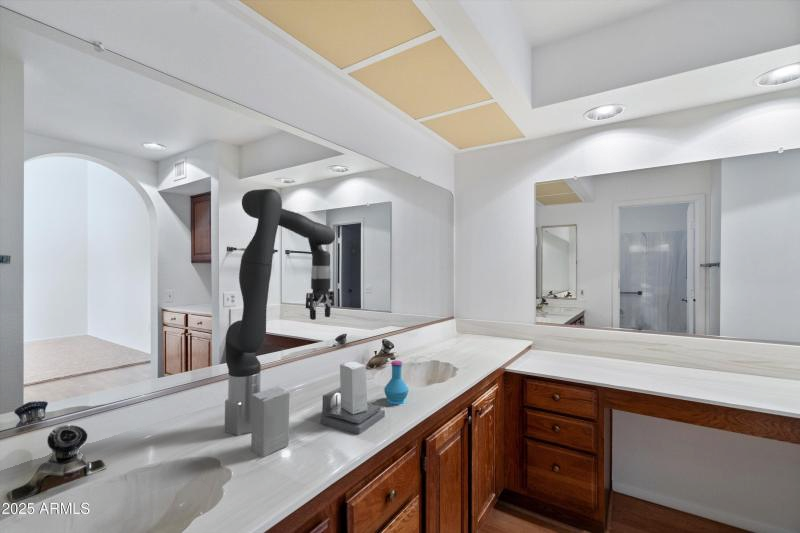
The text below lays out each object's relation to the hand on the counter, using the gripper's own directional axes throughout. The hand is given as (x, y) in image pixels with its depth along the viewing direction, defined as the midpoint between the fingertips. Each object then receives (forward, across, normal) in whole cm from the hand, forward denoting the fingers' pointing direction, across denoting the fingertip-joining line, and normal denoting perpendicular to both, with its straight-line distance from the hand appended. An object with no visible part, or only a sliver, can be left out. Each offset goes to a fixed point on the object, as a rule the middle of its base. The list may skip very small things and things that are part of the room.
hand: (320, 318), depth 144 cm
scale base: (+30, +13, +26) cm, 42 cm away
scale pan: (+28, +13, +26) cm, 40 cm away
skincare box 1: (+30, +40, +17) cm, 53 cm away
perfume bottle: (+30, -9, +30) cm, 44 cm away
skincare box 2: (+27, +13, +26) cm, 39 cm away
